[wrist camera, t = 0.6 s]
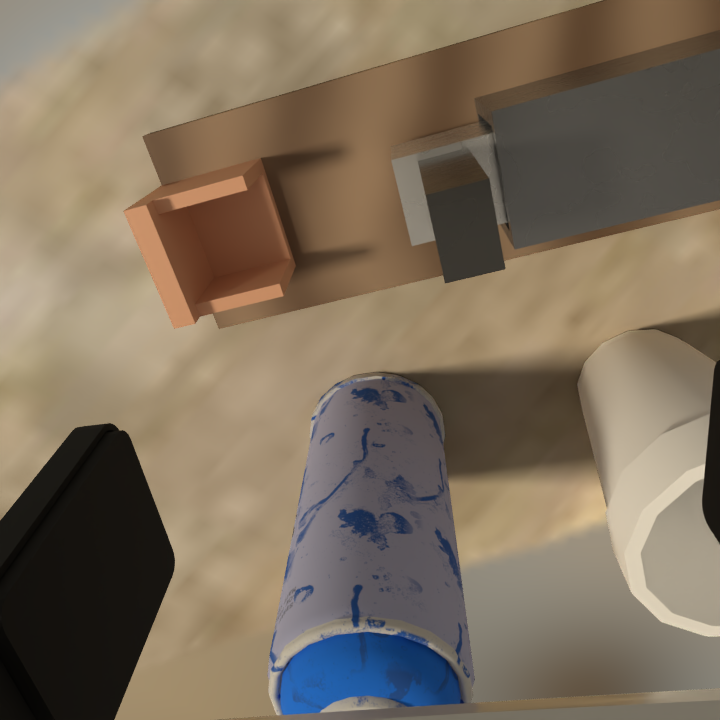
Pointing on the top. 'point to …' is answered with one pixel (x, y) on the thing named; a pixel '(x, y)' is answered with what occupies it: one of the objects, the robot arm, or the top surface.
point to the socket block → (213, 242)
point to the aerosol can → (372, 561)
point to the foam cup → (656, 471)
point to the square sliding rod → (454, 197)
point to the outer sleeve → (609, 141)
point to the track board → (398, 125)
